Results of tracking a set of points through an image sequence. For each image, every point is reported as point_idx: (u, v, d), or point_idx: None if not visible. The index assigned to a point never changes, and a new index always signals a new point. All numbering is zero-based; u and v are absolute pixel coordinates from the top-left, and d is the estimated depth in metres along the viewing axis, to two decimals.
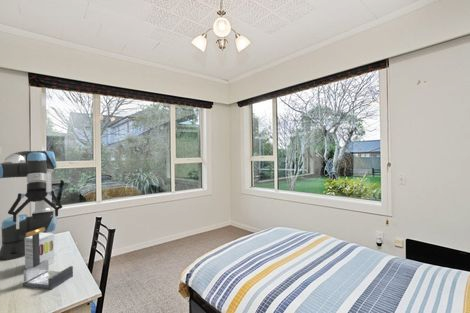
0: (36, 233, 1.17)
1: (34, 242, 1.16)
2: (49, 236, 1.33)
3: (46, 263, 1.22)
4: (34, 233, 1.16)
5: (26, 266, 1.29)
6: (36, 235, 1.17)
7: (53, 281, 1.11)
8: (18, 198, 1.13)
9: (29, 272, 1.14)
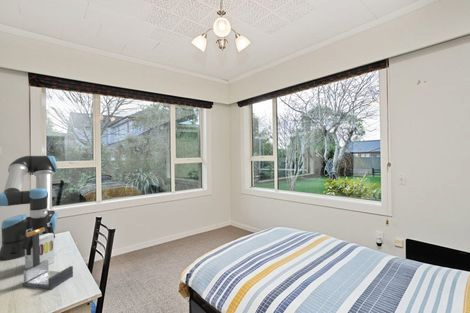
0: (36, 233, 1.17)
1: (34, 242, 1.16)
2: (49, 236, 1.33)
3: (46, 263, 1.22)
4: (34, 233, 1.16)
5: (26, 266, 1.29)
6: (36, 235, 1.17)
7: (53, 281, 1.11)
8: None
9: (29, 272, 1.14)
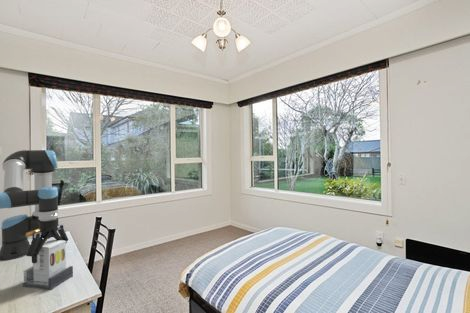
0: None
1: None
2: (61, 244, 1.18)
3: None
4: None
5: (35, 278, 1.13)
6: None
7: (53, 281, 1.11)
8: (38, 239, 1.09)
9: (29, 272, 1.14)
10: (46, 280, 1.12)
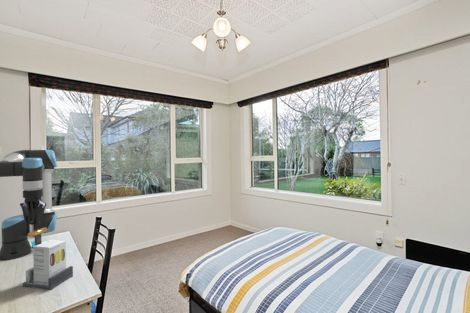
0: (38, 233, 1.16)
1: (36, 242, 1.16)
2: (61, 244, 1.18)
3: None
4: (36, 233, 1.15)
5: (35, 278, 1.13)
6: (38, 235, 1.17)
7: (53, 281, 1.11)
8: None
9: (31, 272, 1.13)
10: (46, 280, 1.12)
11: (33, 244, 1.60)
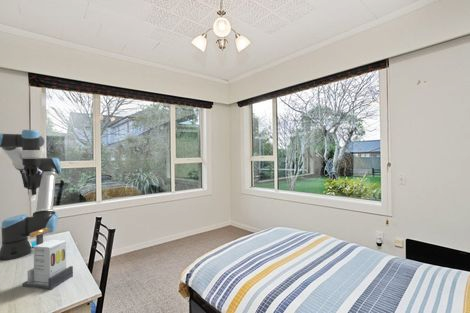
0: (40, 233, 1.16)
1: (38, 242, 1.16)
2: (61, 244, 1.18)
3: None
4: (38, 233, 1.15)
5: (35, 278, 1.13)
6: (40, 235, 1.16)
7: (53, 281, 1.11)
8: None
9: (33, 272, 1.13)
10: (46, 280, 1.12)
11: (33, 244, 1.60)
